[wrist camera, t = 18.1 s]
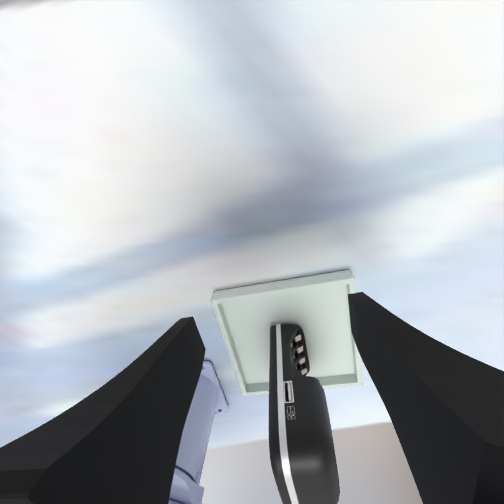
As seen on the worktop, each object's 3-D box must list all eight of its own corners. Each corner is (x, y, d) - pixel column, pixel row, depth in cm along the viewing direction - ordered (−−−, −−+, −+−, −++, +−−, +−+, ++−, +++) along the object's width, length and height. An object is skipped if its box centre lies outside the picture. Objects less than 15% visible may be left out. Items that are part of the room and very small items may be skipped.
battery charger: (317, 370, 25) (349, 526, 15) (280, 373, 26) (287, 526, 15) (308, 316, 23) (340, 459, 12) (268, 321, 23) (266, 462, 13)
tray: (244, 383, 28) (243, 396, 26) (213, 291, 23) (210, 300, 22) (358, 372, 26) (363, 385, 24) (349, 269, 21) (355, 277, 20)
